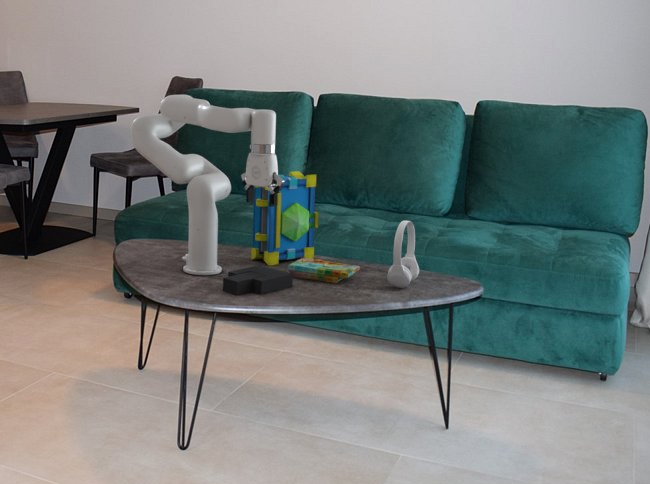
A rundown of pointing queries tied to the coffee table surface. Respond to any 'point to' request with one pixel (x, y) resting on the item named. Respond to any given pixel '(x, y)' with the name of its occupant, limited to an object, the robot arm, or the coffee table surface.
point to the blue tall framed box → (285, 220)
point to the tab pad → (240, 283)
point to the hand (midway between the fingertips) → (261, 204)
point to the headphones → (407, 265)
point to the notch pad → (267, 278)
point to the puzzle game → (321, 270)
